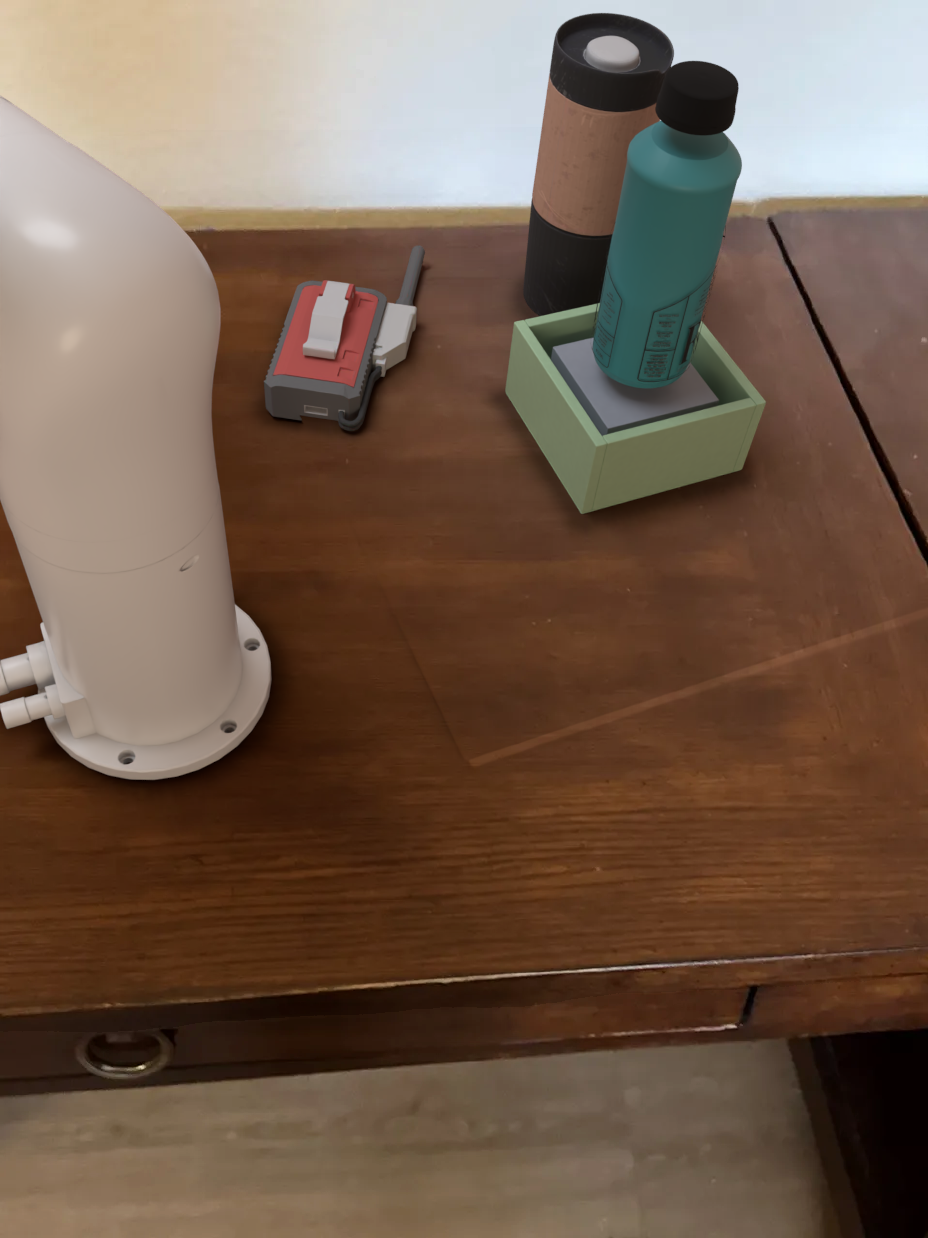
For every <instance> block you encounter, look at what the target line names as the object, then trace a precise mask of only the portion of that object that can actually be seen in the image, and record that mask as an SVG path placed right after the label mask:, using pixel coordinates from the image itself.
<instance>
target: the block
mask: <svg viewBox="0 0 928 1238" xmlns="http://www.w3.org/2000/svg"><path fill="white" fill-rule="evenodd" d="M593 339H594V338H590V339H585V340H581V341H577V342H572V343H568V344H564V345H559V346H555V347H553V349H552V355H551V361H552V362H553V364H554V365H555V367H556V368H557V370H558V371H559V373H560V374H561V376H562V377H563V379H564V380H565V382H566V383H567V385H568V386H569V388H570V389H571V391H572V392H573V394H574V395H575V397H576V398H577V400H578V401H579V403H580V404H581V406H582V407H583V409H584V410H585V412H586V413H587V415H588V416H589V418H590V419H591V421H592V422H593V424H594V425H595V427H596V428H597V430H598V431H599V433H600V434H601V436H603V435H607V434H611V433H615V432H618V431H622V430H626V429H630V428H634V427H638V426H642V425H646V424H649V423H653V422H657V421H661V420H665V419H669V418H673V417H677V416H681V415H684V414H688V413H692V412H696V411H700V410H704V409H708V408H712V407H716V406H717V405H718V402H719V399H718V398H717V397H716V396H715V394H714V393H713V392H712V390H711V389H710V388H709V386H708V385H707V384H706V382H705V381H704V380H703V379H702V377H701V376H700V375H699V373H698V372H697V371H696V369H695V368H694V367H693V365H692V364H691V363H689V365H688V367H689V366H690V367H689V368H688V367H687V369H686V371H685V372H684V373H683V375H682V376H681V377H680V378H679V379H678V380H676V381H675V382H673V383H671V384H669V385H666V386H663V387H658V388H637V387H631V386H628V385H625V384H622V383H620V382H617V381H615V380H614V379H612V378H610V377H609V376H608V375H606V374H605V373H604V372H603V371H602V370H601V369H600V367H599V366H598V364H597V363H596V361H595V358H594V353H593V351H592V348H593ZM591 346H592V348H591Z"/></svg>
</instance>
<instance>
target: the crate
mask: <svg viewBox="0 0 928 1238" xmlns="http://www.w3.org/2000/svg"><path fill="white" fill-rule="evenodd" d="M599 305H600V303H598V307H597V304H593V305H589V306H584V307H580V308H575V309H571V310H566V311H562V312H557V313H553V314H548V315H544V316H539V315H538V316H535V317H531V318H526V319H522V320H517V321H514V322H513V327H512V336H511V341H510V342H511V343H510V352H509V359H508V367H507V374H506V382H505V389H504V391H505V394H506V396H507V397H508V399H509V401H511V402H510V403H511V404H512V405H513V407H514V408H515V410H516V412H517V413H518V415H519V416H520V418H521V420H522V421H523V423H524V425H525V426H526V428H527V429H528V432H530V434H531V436H532V437H533V439H534V441H535V443H536V444H537V445H538V447H539V449H540V450H541V452H542V453H543V455H544V456H545V458H546V460H547V461H548V463H549V465H550V467H552V469H553V471H554V473H555V474H556V476H557V477H558V479H559V480H560V483H561V484H562V485H563V487H564V489H565V490H566V492H567V493H568V495H569V497H570V498H571V500H572V502H573V503H574V505H575V507H576V508H577V509H578V512H579V513H580V514H581V515H584V514H587V513H591V512H594V511H598V510H602V509H605V508H609V507H612V506H617V505H619V504H624V503H627V502H630V501H634V500H637V499H641V498H645V497H649V496H652V495H657V494H659V493H663V492H666V491H670V490H674V489H677V488H681V487H685V486H688V485H689V486H690V485H692V484H695V483H699V482H703V481H706V480H710V479H714V478H717V477H722V476H723V475H728V474H731V473H732V474H733V473H735V472H739V471H742V470H743V468H744V465H745V462H746V460H747V457H748V455H749V452H750V448H751V446H752V444H753V443H752V442H753V440H754V437H755V435H756V432H757V429H758V427H759V423H760V421H761V418H762V415H763V413H764V410H765V407H766V404H767V401H766V400H765V399H764V397H763V396H762V395H761V393H760V392H759V391H758V390H757V389H756V387H755V386H754V384H752V382H751V381H750V379H748V377H747V375H746V374H745V373H744V372H743V371H742V369H741V368H740V367H739V366H738V365H737V363H736V362H735V361H734V360H733V358H732V357H731V356H730V355H729V354H728V352H727V351H726V349H725V348H724V347H723V346H722V344H721V343H720V342H719V341H718V340H717V338H716V337H715V335H713V333H712V332H711V330H709V328H708V327H707V326H706V324H705V323H704V322H703V320H701V324H700V327H699V329H698V334H699V333H700V335H699V339H698V342H697V339H696V340H695V345H694V347H693V349H694V351H695V352H694V353H695V354H693V351H692V355H691V359H692V360H693V361H692V360H691V359H690V363H691V364H692V365H693V367H694V368H695V369H696V371H697V372H698V373H699V375H700V376H701V377H702V379H703V380H704V381H705V382H706V384H707V385H708V386H709V388H710V389H711V390H712V392H713V393H714V394H715V396H716V397H717V398H718V399H719V402H718V405H717V406H716V407H712V408H708V409H704V410H700V411H696V412H692V413H688V414H684V415H681V416H677V417H673V418H669V419H665V420H661V421H657V422H653V423H649V424H646V425H642V426H638V427H634V428H630V429H626V430H622V431H618V432H615V433H611V434H607V435H603V436H601V434H600V433H599V431H598V430H597V428H596V427H595V425H594V424H593V422H592V421H591V419H590V418H589V416H588V415H587V413H586V412H585V410H584V409H583V407H582V406H581V404H580V403H579V401H578V400H577V398H576V397H575V395H574V394H573V392H572V391H571V389H570V388H569V386H568V385H567V383H566V382H565V380H564V379H563V377H562V376H561V374H560V373H559V371H558V370H557V368H556V367H555V365H554V364H553V362H552V361H551V355H552V349H553V347H555V346H559V345H564V344H568V343H572V342H577V341H581V340H585V339H590V338H594V333H595V330H594V329H595V328H596V324H595V323H596V322H597V316H598V310H599ZM596 307H597V313H596ZM595 313H596V320H595ZM594 320H595V322H594ZM702 322H703V324H702ZM701 325H702V327H701ZM593 327H594V329H593ZM700 329H701V331H700ZM592 333H593V334H592ZM697 338H698V335H697ZM696 344H697V346H696ZM695 348H696V349H695ZM693 356H694V357H693Z"/></svg>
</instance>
